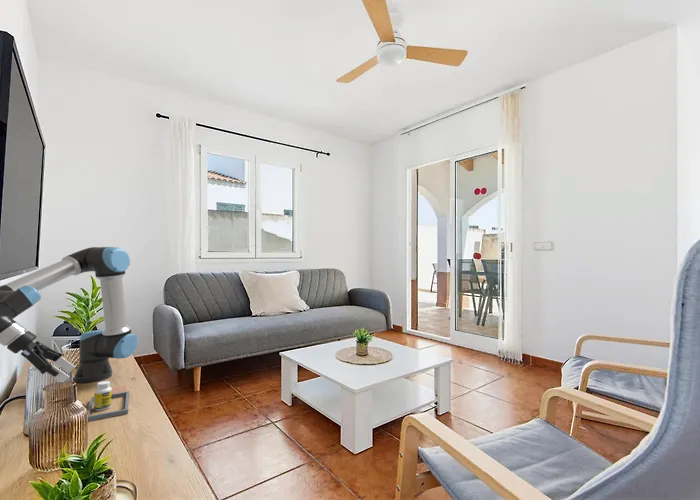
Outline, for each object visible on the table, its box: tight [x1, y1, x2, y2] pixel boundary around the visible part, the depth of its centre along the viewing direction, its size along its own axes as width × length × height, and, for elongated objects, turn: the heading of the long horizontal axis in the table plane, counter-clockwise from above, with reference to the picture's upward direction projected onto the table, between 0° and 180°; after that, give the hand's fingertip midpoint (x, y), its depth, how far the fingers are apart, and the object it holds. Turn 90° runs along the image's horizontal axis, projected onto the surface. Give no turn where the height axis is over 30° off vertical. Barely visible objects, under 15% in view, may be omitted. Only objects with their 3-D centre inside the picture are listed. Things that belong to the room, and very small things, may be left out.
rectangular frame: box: [86, 390, 130, 422], centre depth 133 cm, size 22×13×2 cm, turn 32°
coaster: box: [111, 385, 127, 394], centre depth 148 cm, size 10×10×1 cm
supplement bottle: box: [93, 380, 113, 412], centre depth 132 cm, size 5×5×10 cm
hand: (69, 374), depth 127 cm, fingers open, 13 cm apart
